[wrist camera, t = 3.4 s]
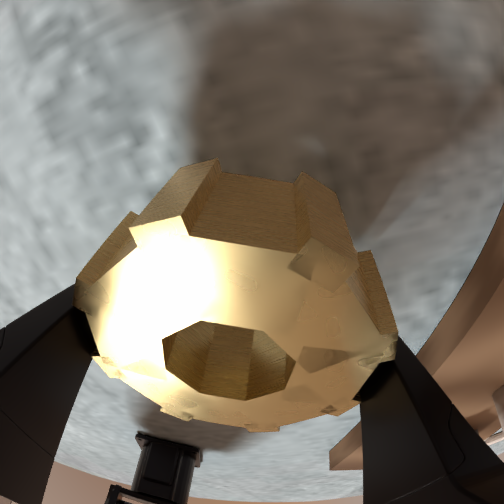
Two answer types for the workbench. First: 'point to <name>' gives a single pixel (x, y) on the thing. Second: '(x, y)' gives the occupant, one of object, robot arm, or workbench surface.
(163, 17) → the workbench surface
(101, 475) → the workbench surface
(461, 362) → the gear board
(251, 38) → the workbench surface
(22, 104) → the workbench surface
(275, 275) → the brass gear
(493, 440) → the corner connector
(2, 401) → the robot arm
